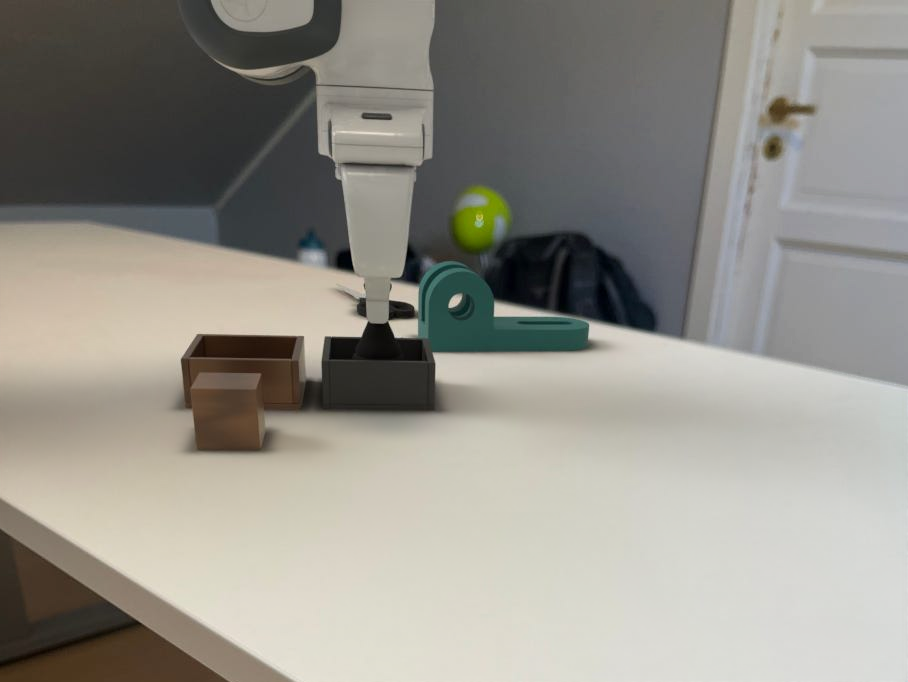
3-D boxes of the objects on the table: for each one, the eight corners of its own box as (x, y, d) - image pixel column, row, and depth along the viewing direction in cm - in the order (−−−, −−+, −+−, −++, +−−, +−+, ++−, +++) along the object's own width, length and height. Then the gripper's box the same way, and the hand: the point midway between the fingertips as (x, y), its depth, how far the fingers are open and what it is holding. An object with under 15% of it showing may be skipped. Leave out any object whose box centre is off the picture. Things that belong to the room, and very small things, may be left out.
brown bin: (185, 408, 79) (180, 358, 77) (201, 379, 87) (197, 333, 85) (300, 409, 80) (298, 360, 78) (306, 381, 88) (304, 335, 86)
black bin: (323, 410, 80) (321, 360, 78) (326, 381, 88) (324, 336, 86) (434, 411, 81) (435, 362, 79) (427, 382, 89) (428, 338, 87)
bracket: (427, 352, 100) (429, 271, 96) (417, 337, 105) (418, 260, 101) (595, 351, 103) (603, 273, 99) (576, 337, 109) (583, 262, 105)
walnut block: (196, 451, 70) (190, 388, 68) (205, 432, 74) (199, 372, 71) (260, 451, 70) (256, 389, 68) (265, 432, 74) (261, 373, 72)
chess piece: (360, 353, 85) (358, 231, 80) (409, 357, 85) (410, 234, 80) (346, 365, 81) (343, 237, 77) (397, 369, 81) (397, 240, 76)
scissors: (309, 289, 127) (371, 320, 112) (309, 282, 126) (371, 312, 111) (357, 287, 130) (423, 317, 115) (357, 280, 129) (424, 309, 114)
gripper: (336, 126, 83) (340, 294, 90) (331, 135, 66) (337, 344, 72) (410, 129, 84) (409, 296, 91) (424, 139, 66) (421, 345, 73)
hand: (377, 318), depth 81 cm, fingers closed on chess piece, 2 cm apart
